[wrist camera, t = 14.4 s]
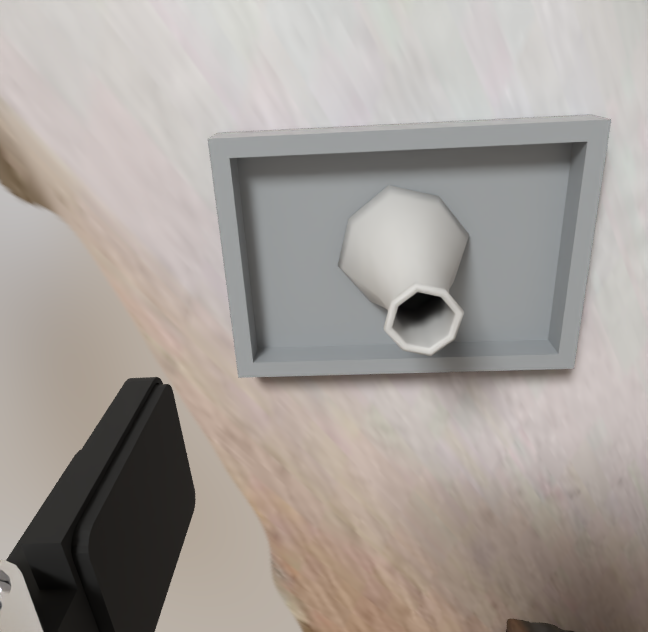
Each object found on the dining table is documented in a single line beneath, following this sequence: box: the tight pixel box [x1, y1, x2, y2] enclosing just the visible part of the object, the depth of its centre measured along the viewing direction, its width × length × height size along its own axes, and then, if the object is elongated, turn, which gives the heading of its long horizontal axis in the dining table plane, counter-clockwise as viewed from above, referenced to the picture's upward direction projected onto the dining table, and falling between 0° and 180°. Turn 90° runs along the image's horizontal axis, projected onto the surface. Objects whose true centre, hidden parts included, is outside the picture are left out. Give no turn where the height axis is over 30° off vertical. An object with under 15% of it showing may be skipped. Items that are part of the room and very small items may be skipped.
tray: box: [208, 115, 611, 378], centre depth 32 cm, size 14×20×2 cm
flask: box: [338, 185, 469, 356], centre depth 28 cm, size 7×7×10 cm
